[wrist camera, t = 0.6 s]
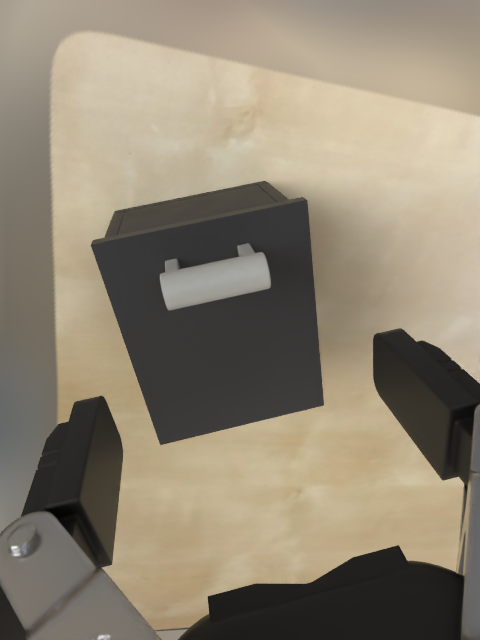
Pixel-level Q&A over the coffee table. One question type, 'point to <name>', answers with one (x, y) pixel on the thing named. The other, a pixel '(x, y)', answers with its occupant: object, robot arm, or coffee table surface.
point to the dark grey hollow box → (193, 207)
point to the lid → (218, 317)
